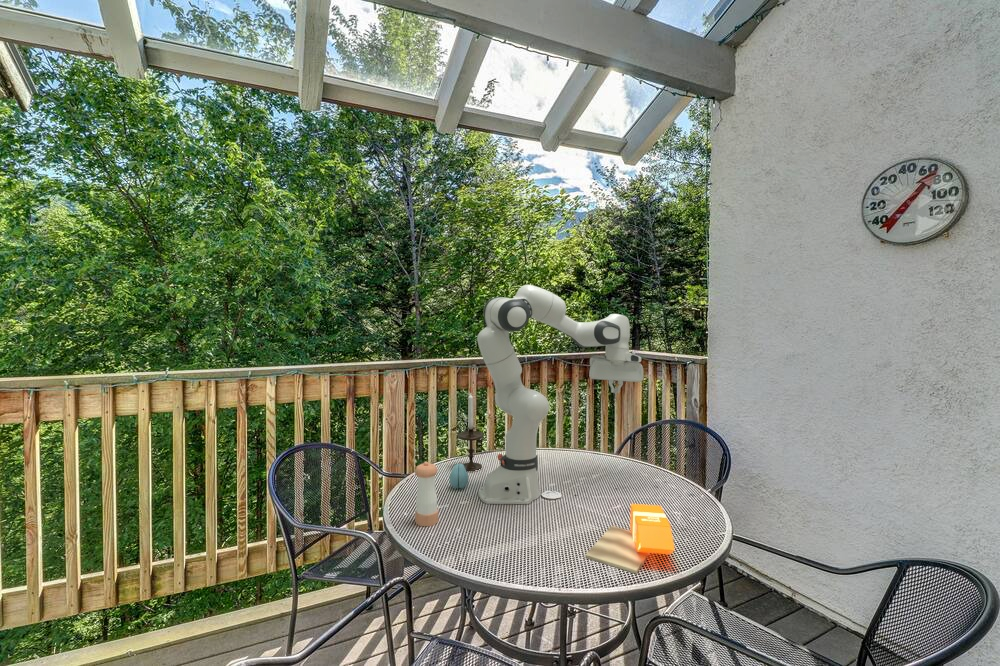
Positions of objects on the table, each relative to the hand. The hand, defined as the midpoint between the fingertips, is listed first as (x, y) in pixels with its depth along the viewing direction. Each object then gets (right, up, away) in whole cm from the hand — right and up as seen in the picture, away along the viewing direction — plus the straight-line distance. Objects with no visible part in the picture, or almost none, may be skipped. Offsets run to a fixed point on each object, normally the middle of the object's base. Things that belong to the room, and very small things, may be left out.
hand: (615, 392), depth 179 cm
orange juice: (0, -33, -37) cm, 49 cm away
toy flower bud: (-59, -36, 0) cm, 69 cm away
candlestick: (-56, -34, +19) cm, 68 cm away
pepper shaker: (-67, -37, -30) cm, 82 cm away
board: (-9, -38, -47) cm, 61 cm away
